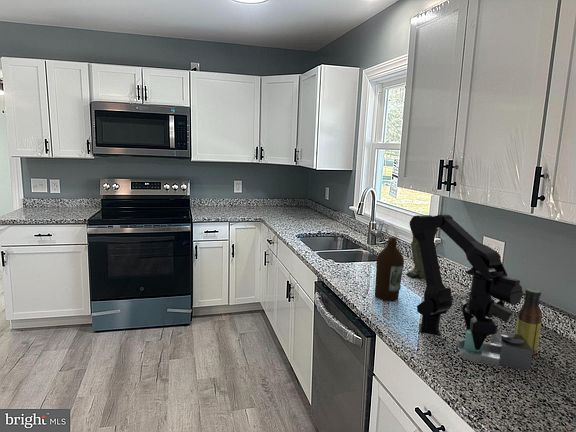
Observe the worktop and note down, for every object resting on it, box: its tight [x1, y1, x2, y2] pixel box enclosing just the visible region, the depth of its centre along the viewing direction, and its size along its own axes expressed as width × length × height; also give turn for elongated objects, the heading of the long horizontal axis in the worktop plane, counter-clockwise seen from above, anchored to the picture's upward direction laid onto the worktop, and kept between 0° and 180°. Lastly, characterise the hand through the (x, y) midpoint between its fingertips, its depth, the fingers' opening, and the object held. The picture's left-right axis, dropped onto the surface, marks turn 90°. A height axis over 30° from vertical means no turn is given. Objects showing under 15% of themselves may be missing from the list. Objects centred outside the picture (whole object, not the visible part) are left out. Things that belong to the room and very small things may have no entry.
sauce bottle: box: [515, 287, 543, 356], centre depth 121 cm, size 6×6×20 cm
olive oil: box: [374, 236, 405, 302], centre depth 161 cm, size 11×11×25 cm
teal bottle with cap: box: [464, 329, 483, 354], centre depth 119 cm, size 5×5×7 cm
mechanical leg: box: [405, 228, 439, 279], centre depth 193 cm, size 14×7×30 cm, turn 106°
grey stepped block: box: [456, 330, 533, 371], centre depth 118 cm, size 10×18×7 cm, turn 77°
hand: (473, 342), depth 119 cm, fingers open, 9 cm apart
